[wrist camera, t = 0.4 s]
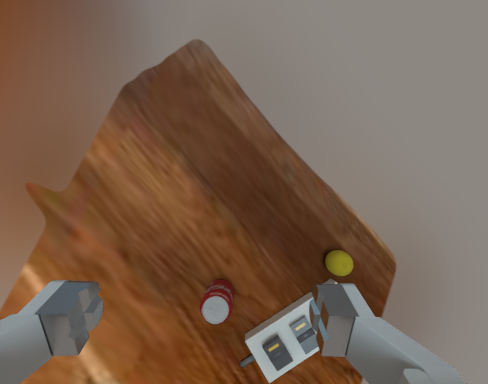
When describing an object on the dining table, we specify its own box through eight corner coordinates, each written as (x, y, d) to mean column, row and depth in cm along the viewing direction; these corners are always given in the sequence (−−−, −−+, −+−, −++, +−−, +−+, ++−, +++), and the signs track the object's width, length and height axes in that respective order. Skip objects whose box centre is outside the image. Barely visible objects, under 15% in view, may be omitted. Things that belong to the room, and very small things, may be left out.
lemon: (317, 266, 61) (329, 274, 53) (325, 244, 61) (337, 248, 53) (339, 275, 61) (354, 283, 53) (346, 253, 61) (362, 258, 53)
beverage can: (238, 287, 60) (238, 303, 48) (225, 311, 59) (221, 334, 47) (215, 273, 60) (209, 286, 48) (202, 297, 60) (192, 316, 48)
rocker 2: (320, 341, 54) (322, 344, 53) (304, 352, 54) (306, 355, 52) (304, 315, 56) (305, 317, 54) (289, 325, 56) (290, 327, 54)
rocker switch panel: (354, 315, 60) (361, 321, 56) (252, 383, 58) (253, 393, 54) (330, 278, 60) (336, 281, 57) (229, 343, 59) (229, 351, 55)
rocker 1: (291, 356, 55) (293, 361, 53) (275, 366, 55) (277, 372, 53) (277, 333, 54) (279, 338, 53) (261, 344, 54) (263, 349, 52)
